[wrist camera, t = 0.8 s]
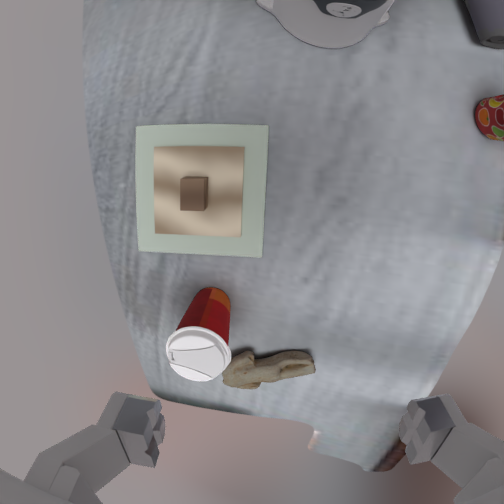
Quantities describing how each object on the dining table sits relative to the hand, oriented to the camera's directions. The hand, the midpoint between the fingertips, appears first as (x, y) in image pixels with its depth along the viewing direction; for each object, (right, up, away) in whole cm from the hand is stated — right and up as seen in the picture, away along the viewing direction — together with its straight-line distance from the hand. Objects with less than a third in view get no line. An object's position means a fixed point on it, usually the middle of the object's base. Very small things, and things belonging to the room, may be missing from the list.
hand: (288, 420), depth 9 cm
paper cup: (-7, -2, +39) cm, 40 cm away
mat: (-8, +14, +33) cm, 37 cm away
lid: (-8, +13, +33) cm, 36 cm away
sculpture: (+2, -13, +42) cm, 44 cm away
